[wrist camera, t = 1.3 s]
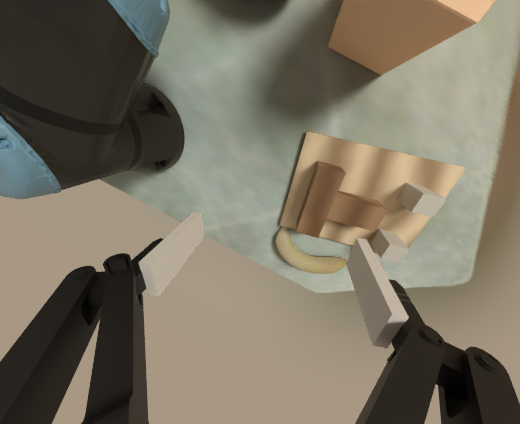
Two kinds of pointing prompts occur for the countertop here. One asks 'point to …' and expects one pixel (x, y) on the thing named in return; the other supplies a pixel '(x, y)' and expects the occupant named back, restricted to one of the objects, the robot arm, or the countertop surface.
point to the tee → (335, 203)
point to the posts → (416, 202)
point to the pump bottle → (399, 28)
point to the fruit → (305, 256)
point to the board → (368, 185)
